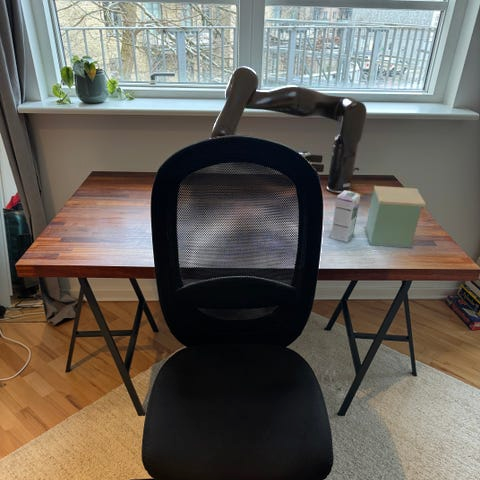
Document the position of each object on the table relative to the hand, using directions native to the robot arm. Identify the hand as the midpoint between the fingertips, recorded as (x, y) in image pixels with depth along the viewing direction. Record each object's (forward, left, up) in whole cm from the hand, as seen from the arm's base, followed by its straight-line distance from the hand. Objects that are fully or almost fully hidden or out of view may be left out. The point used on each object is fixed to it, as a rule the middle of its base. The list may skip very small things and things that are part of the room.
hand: (323, 163), depth 135 cm
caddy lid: (-2, +25, -10) cm, 26 cm away
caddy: (-2, +24, -23) cm, 34 cm away
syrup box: (0, +9, -23) cm, 25 cm away
